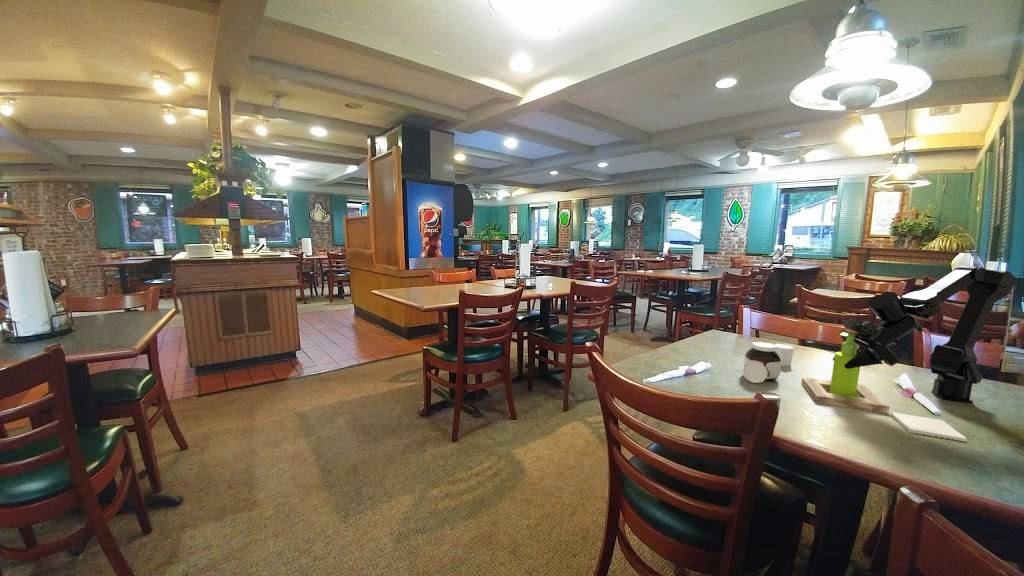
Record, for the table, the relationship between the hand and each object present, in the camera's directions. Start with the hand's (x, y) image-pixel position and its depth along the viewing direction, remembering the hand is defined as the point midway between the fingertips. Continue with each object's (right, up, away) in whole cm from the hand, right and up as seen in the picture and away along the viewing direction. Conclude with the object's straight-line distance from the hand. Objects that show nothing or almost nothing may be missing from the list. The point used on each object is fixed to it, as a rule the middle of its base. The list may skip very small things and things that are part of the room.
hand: (839, 364), depth 113 cm
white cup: (+4, -6, +30) cm, 31 cm away
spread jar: (-14, -8, +15) cm, 22 cm away
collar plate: (+1, -10, +1) cm, 10 cm away
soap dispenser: (+1, -10, +1) cm, 10 cm away
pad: (+7, -13, -17) cm, 22 cm away
